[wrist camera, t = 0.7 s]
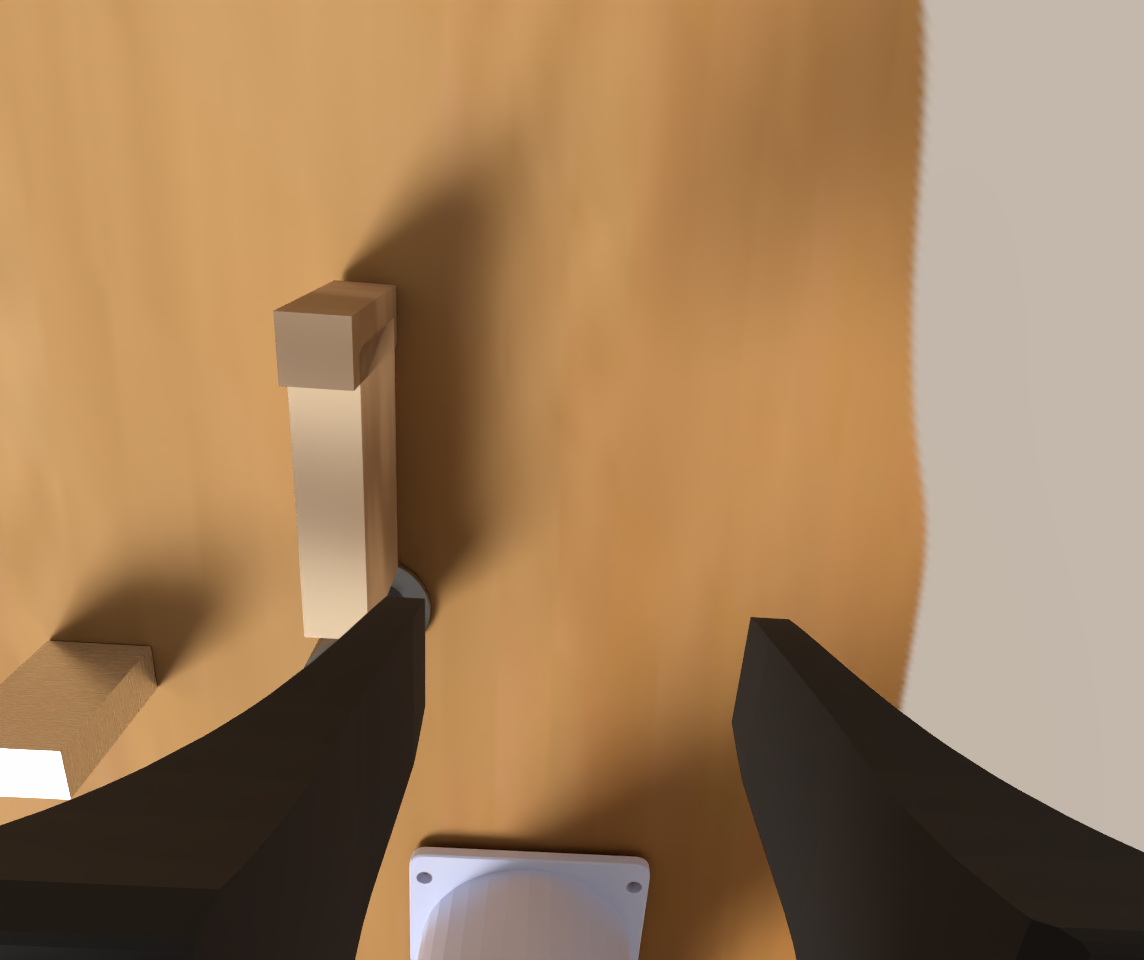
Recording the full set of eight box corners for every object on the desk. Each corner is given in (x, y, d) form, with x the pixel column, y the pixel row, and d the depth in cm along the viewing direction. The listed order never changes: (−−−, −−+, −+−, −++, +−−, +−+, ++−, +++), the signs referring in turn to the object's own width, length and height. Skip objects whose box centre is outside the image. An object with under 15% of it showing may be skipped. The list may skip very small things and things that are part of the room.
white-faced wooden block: (157, 688, 24) (70, 799, 20) (56, 682, 24) (-52, 793, 20) (150, 646, 23) (60, 751, 19) (47, 640, 23) (-66, 745, 19)
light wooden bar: (400, 564, 22) (363, 653, 18) (346, 561, 22) (297, 649, 18) (396, 284, 19) (351, 316, 15) (334, 280, 19) (273, 311, 15)
